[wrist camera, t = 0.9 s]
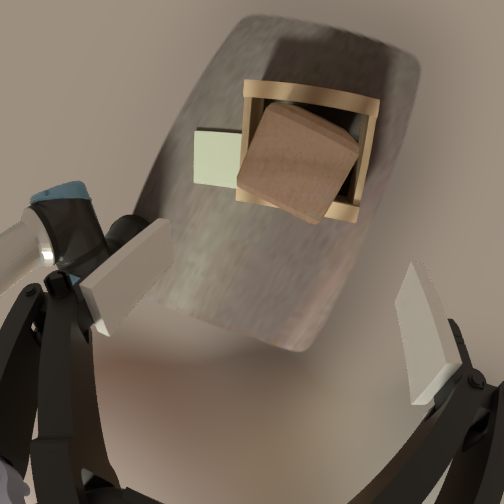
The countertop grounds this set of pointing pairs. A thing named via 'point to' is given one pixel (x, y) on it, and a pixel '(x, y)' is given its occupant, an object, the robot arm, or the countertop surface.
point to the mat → (217, 158)
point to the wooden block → (297, 161)
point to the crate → (365, 105)
